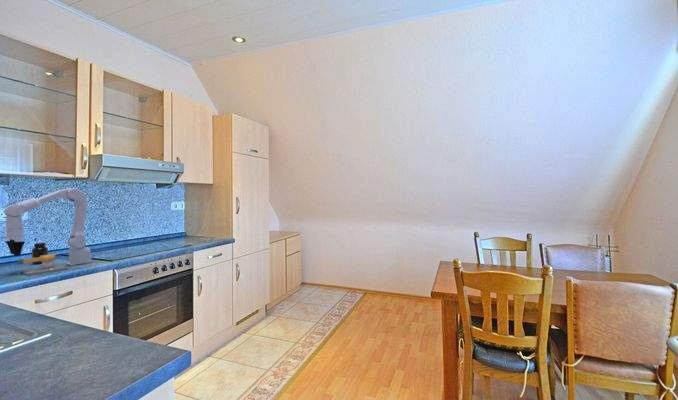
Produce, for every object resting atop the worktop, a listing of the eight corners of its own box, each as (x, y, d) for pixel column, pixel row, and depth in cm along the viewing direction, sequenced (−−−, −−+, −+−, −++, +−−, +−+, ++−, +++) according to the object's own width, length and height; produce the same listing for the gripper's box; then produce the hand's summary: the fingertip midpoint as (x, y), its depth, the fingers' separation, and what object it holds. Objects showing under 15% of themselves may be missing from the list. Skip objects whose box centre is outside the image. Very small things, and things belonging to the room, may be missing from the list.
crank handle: (53, 258, 169) (53, 253, 169) (56, 259, 165) (56, 254, 165) (17, 263, 157) (16, 258, 157) (19, 265, 154) (19, 259, 154)
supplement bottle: (29, 265, 177) (28, 244, 177) (37, 262, 183) (36, 242, 183) (43, 264, 179) (42, 243, 178) (51, 261, 185) (50, 241, 185)
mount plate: (59, 266, 173) (59, 257, 173) (67, 269, 165) (66, 260, 165) (21, 272, 161) (21, 262, 161) (27, 276, 153) (27, 266, 152)
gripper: (0, 228, 159) (1, 254, 159) (5, 230, 150) (7, 257, 151) (19, 226, 165) (21, 252, 165) (26, 228, 156) (27, 255, 157)
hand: (15, 254), depth 158 cm, fingers open, 7 cm apart
